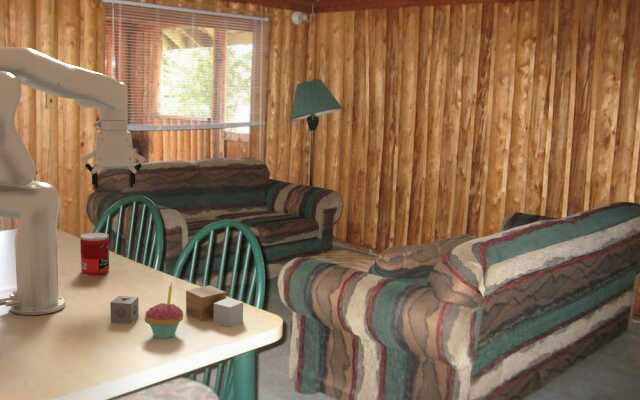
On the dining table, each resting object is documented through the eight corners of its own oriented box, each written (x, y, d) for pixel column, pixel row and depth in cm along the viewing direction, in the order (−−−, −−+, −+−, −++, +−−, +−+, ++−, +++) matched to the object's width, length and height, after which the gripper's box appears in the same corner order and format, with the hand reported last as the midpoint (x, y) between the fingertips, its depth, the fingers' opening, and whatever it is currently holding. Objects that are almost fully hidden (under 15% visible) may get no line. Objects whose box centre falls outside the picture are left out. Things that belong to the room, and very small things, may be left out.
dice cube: (138, 316, 169) (138, 297, 168) (131, 324, 164) (131, 303, 163) (118, 315, 169) (118, 295, 168) (110, 322, 164) (110, 302, 164)
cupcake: (167, 325, 164) (167, 276, 162) (191, 334, 158) (191, 284, 156) (137, 335, 157) (136, 284, 155) (160, 345, 152) (160, 292, 150)
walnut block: (202, 321, 168) (202, 297, 166) (186, 313, 172) (186, 290, 171) (225, 315, 172) (226, 292, 171) (209, 307, 177) (209, 285, 176)
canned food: (104, 276, 201) (103, 239, 199) (77, 274, 201) (76, 237, 199) (113, 268, 208) (112, 233, 206) (86, 267, 208) (85, 232, 206)
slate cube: (229, 327, 164) (230, 307, 163) (213, 323, 167) (213, 303, 166) (242, 321, 168) (243, 302, 167) (226, 317, 171) (227, 297, 170)
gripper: (81, 126, 187) (82, 189, 190) (147, 127, 194) (146, 188, 197) (79, 125, 194) (80, 185, 197) (143, 126, 201) (142, 184, 204)
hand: (113, 187), depth 197 cm, fingers open, 9 cm apart
